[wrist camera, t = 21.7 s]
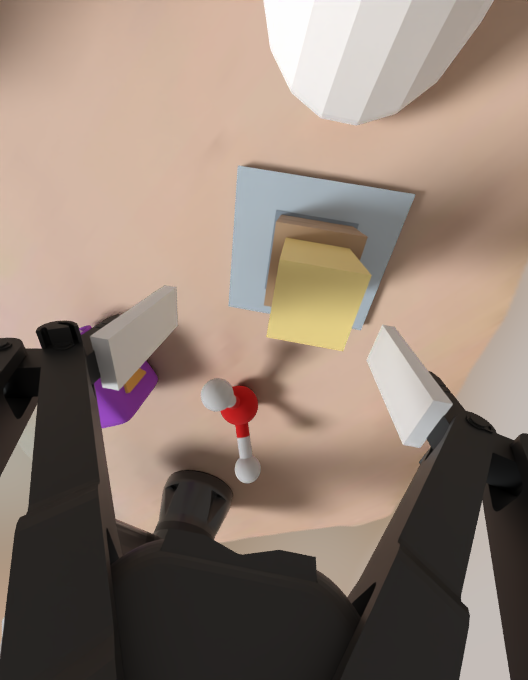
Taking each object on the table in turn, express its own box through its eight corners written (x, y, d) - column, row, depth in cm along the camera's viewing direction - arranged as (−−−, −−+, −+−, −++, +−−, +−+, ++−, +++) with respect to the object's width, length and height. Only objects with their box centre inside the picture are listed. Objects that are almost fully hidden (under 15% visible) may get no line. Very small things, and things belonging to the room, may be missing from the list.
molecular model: (271, 428, 42) (264, 489, 34) (240, 430, 43) (225, 488, 35) (245, 341, 34) (227, 393, 25) (208, 346, 35) (178, 397, 26)
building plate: (358, 325, 30) (361, 330, 29) (230, 302, 31) (228, 306, 30) (410, 193, 23) (416, 194, 22) (240, 166, 23) (237, 165, 22)
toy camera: (102, 301, 33) (35, 340, 25) (172, 373, 38) (136, 425, 30) (60, 335, 37) (-11, 378, 29) (128, 395, 42) (85, 447, 34)
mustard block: (331, 306, 22) (342, 351, 16) (275, 296, 22) (266, 337, 16) (349, 248, 19) (371, 275, 13) (285, 237, 19) (279, 259, 13)
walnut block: (332, 294, 27) (339, 319, 22) (270, 283, 28) (263, 305, 23) (353, 226, 24) (367, 237, 19) (281, 214, 24) (276, 221, 19)
